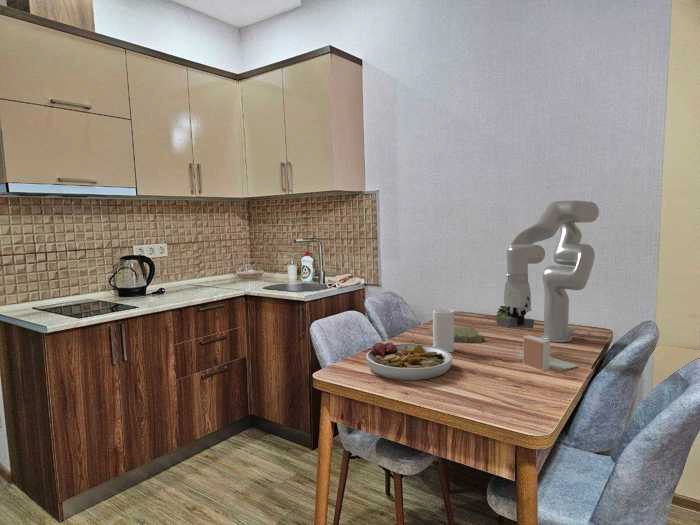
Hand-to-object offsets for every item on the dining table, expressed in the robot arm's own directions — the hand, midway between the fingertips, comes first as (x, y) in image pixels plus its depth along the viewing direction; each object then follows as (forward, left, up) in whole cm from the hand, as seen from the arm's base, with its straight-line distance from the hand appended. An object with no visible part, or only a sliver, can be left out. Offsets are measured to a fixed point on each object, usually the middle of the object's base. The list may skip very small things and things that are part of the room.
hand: (518, 324), depth 180 cm
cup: (+25, -15, -11) cm, 31 cm away
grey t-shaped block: (0, 0, -1) cm, 1 cm away
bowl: (+49, -3, -11) cm, 50 cm away
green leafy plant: (-34, -39, -11) cm, 53 cm away
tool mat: (+2, +15, -11) cm, 19 cm away
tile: (+9, +17, -11) cm, 22 cm away
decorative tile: (+8, -29, -11) cm, 32 cm away
